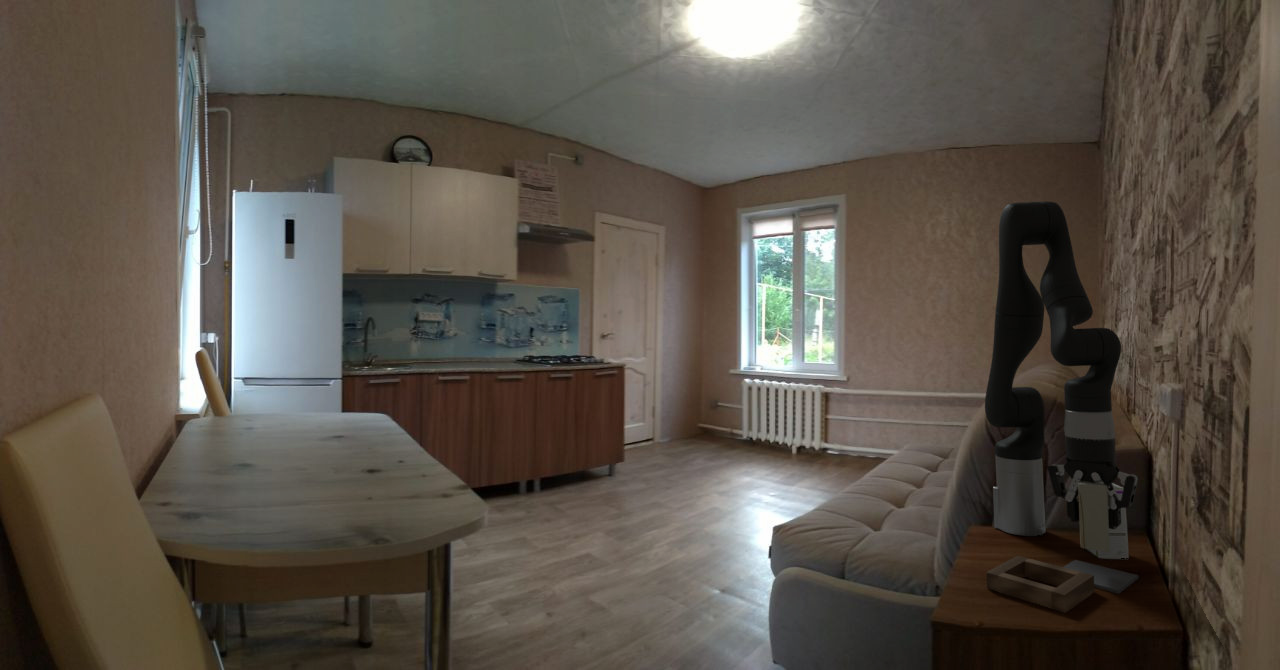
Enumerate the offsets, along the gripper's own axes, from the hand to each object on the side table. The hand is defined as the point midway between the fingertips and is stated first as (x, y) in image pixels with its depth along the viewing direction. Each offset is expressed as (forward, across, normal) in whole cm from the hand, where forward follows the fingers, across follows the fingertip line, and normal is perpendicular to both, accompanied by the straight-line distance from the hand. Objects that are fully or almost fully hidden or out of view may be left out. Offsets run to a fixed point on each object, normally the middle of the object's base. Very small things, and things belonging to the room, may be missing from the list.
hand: (1093, 524), depth 111 cm
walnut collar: (+10, +4, +14) cm, 17 cm away
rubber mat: (+10, 0, 0) cm, 10 cm away
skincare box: (+4, 0, 0) cm, 4 cm away
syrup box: (+10, +3, -15) cm, 18 cm away
